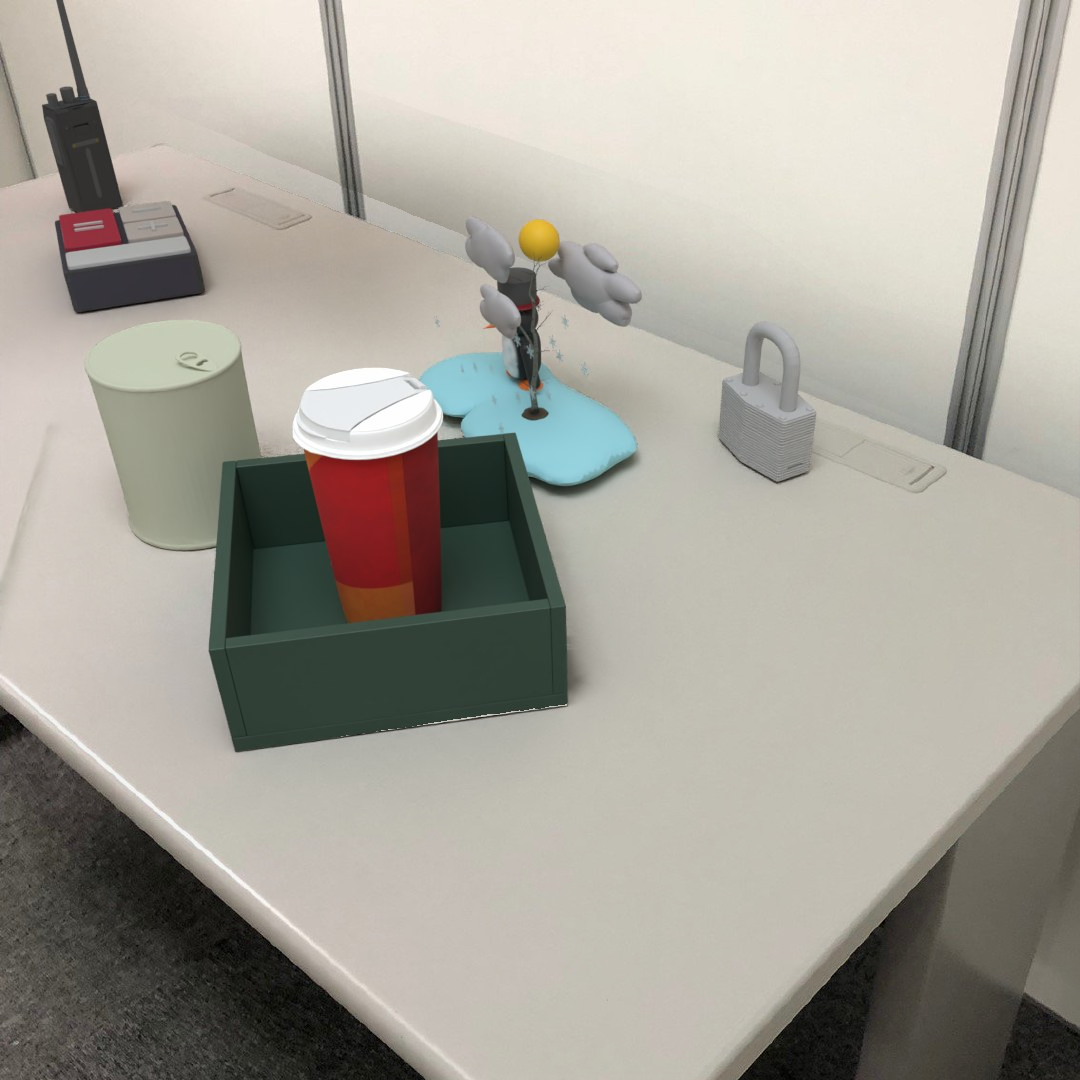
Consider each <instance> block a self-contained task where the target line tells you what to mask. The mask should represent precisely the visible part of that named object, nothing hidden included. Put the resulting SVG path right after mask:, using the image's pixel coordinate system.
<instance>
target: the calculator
mask: <svg viewBox="0 0 1080 1080" xmlns="http://www.w3.org/2000/svg"><path fill="white" fill-rule="evenodd" d="M54 227H55V232H56V238H57V245H58V250H59V257H60V262H61V268H62V273H63V277H64V280H65V284H66V287H67V291H68V294H69V299H70V302H71V304H72V308H73V310H74V312H76V313H83V312H89V311H95V310H101V309H108V308H115V307H121V306H128V305H133V304H134V305H135V304H139V303H147V302H152V301H159V300H160V301H161V300H166V299H172V298H178V297H185V296H192V295H197V294H202V293H205V292H206V286H205V281H204V277H203V273H202V267H201V264H200V259H199V255H198V252H197V249H196V247H195V245H194V243H193V240H192V238H191V235H190V233H189V231H188V228H187V227H186V224H185V221H184V220H183V218H182V215H181V213H180V210H179V208H178V206H177V205H175V204H172V202H171V201H170V200H162V201H156V202H154V201H153V202H148V203H140V204H133V205H125V206H122V207H119V208H118V211H115V212H114V209H113V210H112V209H102V210H94V211H87V212H79V213H77V212H72V213H65V214H60V215H59V216H58V219H57V220H55V221H54Z"/></svg>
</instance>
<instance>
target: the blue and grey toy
mask: <svg viewBox="0 0 1080 1080" xmlns="http://www.w3.org/2000/svg"><path fill="white" fill-rule="evenodd" d="M465 229H466V231H467V234H468V235H470V236H468V237H467V238H466V240H465V242H464V248H465V253H466V255H467V257H468V259H469V260H470V261H471V262H472V263H473V264H475V265H476V266H477V267H479V268H482V269H483V270H484V271H485V273H486V274H487V275H488V276H490V277H491V278H492V279H493V280H495V281H496V287H497V289H496V288H495V287H494V286H492V285H490V284H488V283H484V284H482V285H480V289H479V292H480V295H481V297H482V298H483V299H482V300H480V303H479V311H480V314H481V316H482V318H483V320H485V321H486V322H487V323H488V325H487V326H485V327H483V328H482V329H483V330H485V329H494V328H495V329H496V330H497V331H498V332H499V333H500V334H501V335H502V336H501V349H502V350H501V352H471V353H463V354H459V355H454V356H451V357H448V358H445V359H442V360H440V361H438V362H436V363H435V364H433V365H431V366H429V367H428V368H427V369H426V370H425V371H423V373H422V374H421V375H420V377H419V379H418V380H419V381H420V382H422V383H423V384H424V385H425V386H427V388H426V389H427V390H430V391H432V394H433V398H434V399H435V400H436V401H437V403H438V404H439V406H440V407H441V409H442V413H443V415H447V416H450V417H453V418H461V419H462V421H461V422H460V430H461V431H462V434H463V436H464V438H466V437H476V436H486V435H496V434H505V433H516V436H517V439H518V443H519V446H520V449H521V453H522V456H523V460H524V463H525V467H526V470H527V474H528V477H529V478H535V479H537V480H540V481H542V482H544V483H547V484H549V485H553V486H560V487H569V486H575V485H580V484H584V483H586V482H588V481H591V480H594V479H595V478H597V477H599V476H601V475H602V474H604V473H605V472H607V471H608V470H609V469H611V468H612V467H614V466H615V465H617V464H618V463H620V462H622V461H624V460H626V459H628V458H629V457H631V456H633V455H634V454H635V452H636V451H637V450H638V442H637V439H636V437H635V435H634V434H633V431H632V430H631V429H630V427H629V426H628V425H627V424H626V423H625V422H624V420H623V419H622V418H621V417H620V416H619V415H618V414H617V413H616V412H615V411H613V410H612V409H610V408H608V407H607V406H605V405H604V404H602V403H600V402H598V401H596V399H595V400H594V399H593V398H591V397H589V396H587V395H584V394H582V393H580V392H579V391H577V390H575V389H573V388H571V387H570V386H568V385H566V384H564V383H563V382H561V380H559V379H558V378H557V377H556V376H555V375H554V373H553V372H552V370H551V369H550V368H549V367H548V366H547V365H546V364H545V363H544V362H542V353H543V352H549V349H548V348H550V347H547V350H546V349H544V350H542V340H541V338H540V334H539V332H538V330H539V328H541V327H542V326H544V322H545V321H547V319H548V317H549V316H550V315H551V313H552V312H553V310H554V309H552V311H551V312H550V311H548V312H547V315H546V316H545V319H544V320H543V321H542V322H541V323H540V325H539V311H542V308H541V307H542V306H543V305H545V303H543V302H544V300H543V301H541V299H540V297H539V296H538V292H539V291H543V290H544V291H545V288H546V287H549V285H548V286H544V287H543V288H540V289H538V288H537V274H538V271H539V269H540V267H541V266H542V264H541V265H540V264H539V263H541V262H545V263H544V265H546V264H547V267H548V269H549V270H550V272H551V273H552V274H553V275H554V276H555V277H557V278H560V279H562V280H565V283H566V285H567V286H568V287H569V289H570V293H571V296H572V297H573V299H574V300H575V302H576V303H577V304H578V305H579V306H581V308H584V309H586V310H587V311H589V312H591V313H594V314H599V315H600V316H601V317H602V318H603V319H605V320H606V321H608V322H609V323H612V324H613V325H615V326H618V327H621V328H625V327H629V325H630V323H631V321H632V316H633V310H632V307H631V305H637V304H638V303H640V302H641V301H642V299H643V294H642V291H641V289H640V287H639V286H638V285H637V284H636V283H635V282H634V281H633V280H632V279H630V277H628V276H626V275H625V274H623V273H620V272H618V269H619V262H618V260H617V258H615V256H614V255H613V254H612V253H611V252H610V251H609V250H608V249H607V248H605V247H604V246H603V245H601V244H598V243H595V242H590V243H589V242H588V243H586V244H584V245H581V244H579V243H577V242H575V241H570V240H569V241H568V240H563V241H561V239H560V238H561V237H560V234H559V231H558V230H557V228H556V227H555V225H553V224H552V222H549V221H548V220H545V219H540V218H537V219H532V220H529V221H528V222H526V223H525V224H524V225H523V226H522V227H521V229H520V231H519V234H518V245H519V248H520V251H521V253H522V254H523V255H524V256H525V257H526V258H528V259H529V260H531V261H533V262H536V265H535V263H533V268H532V269H531V268H527V267H520V266H519V267H518V266H516V267H513V266H514V265H515V261H516V256H515V251H514V248H513V246H512V245H511V243H510V241H509V240H508V239H507V238H506V236H505V235H504V234H503V233H502V232H501V231H499V230H498V229H497V228H495V227H492V226H491V225H489V224H488V223H486V222H485V221H483V220H481V219H479V218H477V217H476V216H470V217H468V218H467V219H466V220H465ZM556 254H557V256H558V257H555V256H556ZM536 266H538V267H537V268H536ZM535 268H536V271H535ZM541 303H543V304H541ZM561 318H562V321H561V324H562V325H564V328H565V329H567V327H569V325H568V324H569V319H567V316H566V314H564V316H563V315H561ZM434 319H435V320H434V324H436V326H437V328H440V327H441V326H440V320H439V319H438V316H437V315H436V317H435V316H434ZM537 326H538V327H537ZM548 337H549V340H550V341H549V344H551V345H552V349H553V352H556V353H557V359H558V360H559V361H558V362H559V363H561V362H563V356H564V355H563V354H561V350H560V349H558V350H557V345H556V342H557V340H555V339H554V335H553V334H551V335H550V336H548ZM555 348H556V349H555ZM554 349H555V350H554ZM586 366H587V365H586V362H583V365H581V370H580V371H582V372H583V373H584V374H583V375H584V376H585V377H586V376H589V372H588V370H589V368H588V366H587V367H586Z"/></svg>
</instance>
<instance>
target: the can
mask: <svg viewBox="0 0 1080 1080" xmlns="http://www.w3.org/2000/svg"><path fill="white" fill-rule="evenodd" d="M242 351H243V350H242V343H241V341H240V338H239V337H238V336H237V334H236V333H235V332H234V331H232V330H231V329H229V328H228V327H225V326H224V325H221V324H218V323H215V322H209V321H205V320H197V319H169V320H161V321H160V320H159V321H153V322H146V323H142V324H138V325H135V326H132V327H128V328H124V329H123V330H120V331H118V332H117V331H116V332H115V333H112V334H110V335H108V336H107V337H105V338H104V339H102V340H100V341H99V342H98V343H96V344H95V345H94V346H93V347H92V348H91V349H90V350H89V351H88V353H87V354H86V355H85V358H84V371H85V373H86V375H87V377H88V380H89V382H90V386H91V389H92V392H93V395H94V399H95V402H96V405H97V408H98V411H99V415H100V418H101V421H102V424H103V428H104V431H105V434H106V439H107V441H108V442H107V443H108V445H109V449H110V451H111V456H112V458H113V462H114V465H115V469H116V473H117V477H118V480H119V484H120V488H121V491H122V494H123V498H124V501H125V505H126V510H127V515H128V517H127V519H128V525H129V527H130V530H131V531H132V533H133V534H134V535H135V536H136V537H137V538H138V539H139V540H141V541H142V542H144V543H146V544H148V545H151V546H152V547H156V548H160V549H165V550H171V551H196V550H199V551H200V550H205V549H210V548H216V543H217V530H218V517H219V503H220V490H221V477H222V463H223V462H227V461H237V460H246V459H256V458H263V457H262V453H261V448H260V442H259V438H258V433H257V427H256V424H255V423H256V422H255V417H254V413H253V408H252V403H251V397H250V391H249V387H248V382H247V375H246V371H245V365H244V359H243V352H242Z"/></svg>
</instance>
